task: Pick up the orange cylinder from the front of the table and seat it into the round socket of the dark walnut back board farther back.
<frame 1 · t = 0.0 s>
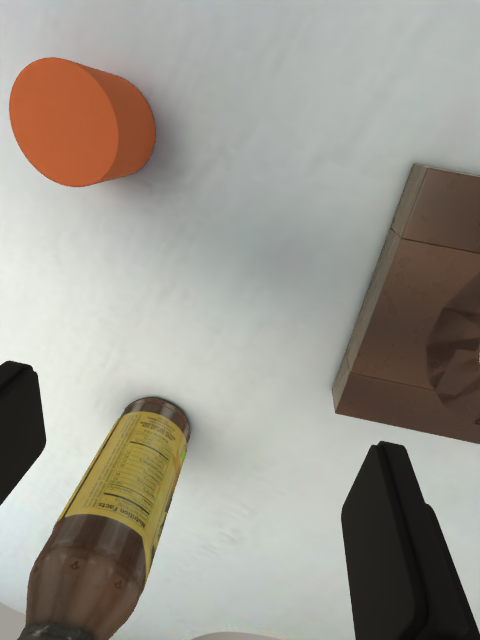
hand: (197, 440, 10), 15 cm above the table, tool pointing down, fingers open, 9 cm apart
sauce bottle: (159, 420, 31), on the table
orange cylinder: (112, 127, 21), on the table
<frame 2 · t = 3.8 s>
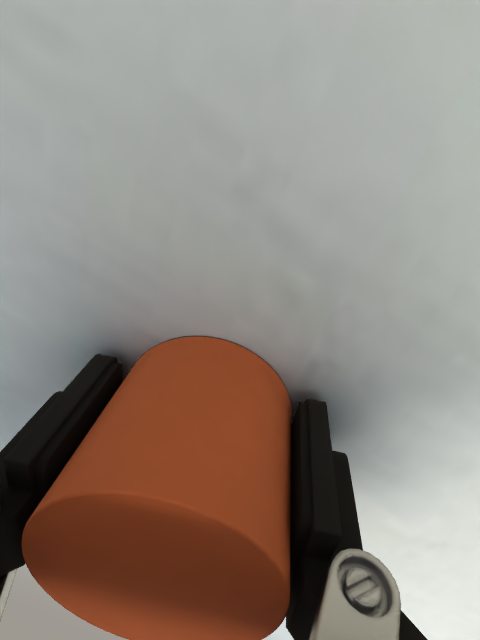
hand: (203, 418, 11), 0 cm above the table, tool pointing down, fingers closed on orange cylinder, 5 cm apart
orange cylinder: (207, 408, 11), on the table, touching gripper
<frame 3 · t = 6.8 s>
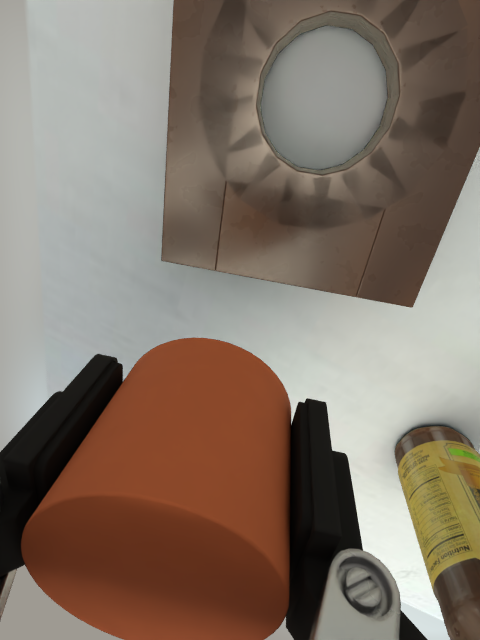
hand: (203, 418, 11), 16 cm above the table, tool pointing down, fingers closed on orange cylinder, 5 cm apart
sauce bottle: (429, 446, 31), on the table
orange cylinder: (206, 409, 11), point 15 cm above the table, touching gripper
back board: (313, 142, 21), on the table
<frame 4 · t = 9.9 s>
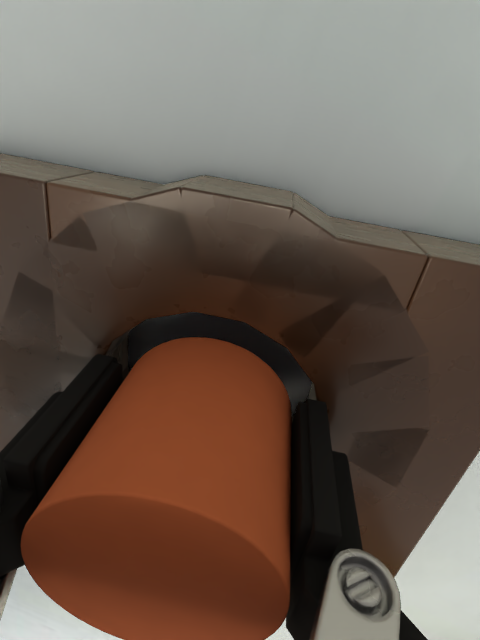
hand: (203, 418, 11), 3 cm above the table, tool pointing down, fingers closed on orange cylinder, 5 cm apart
orange cylinder: (207, 409, 11), point 2 cm above the table, touching gripper
back board: (211, 408, 14), on the table
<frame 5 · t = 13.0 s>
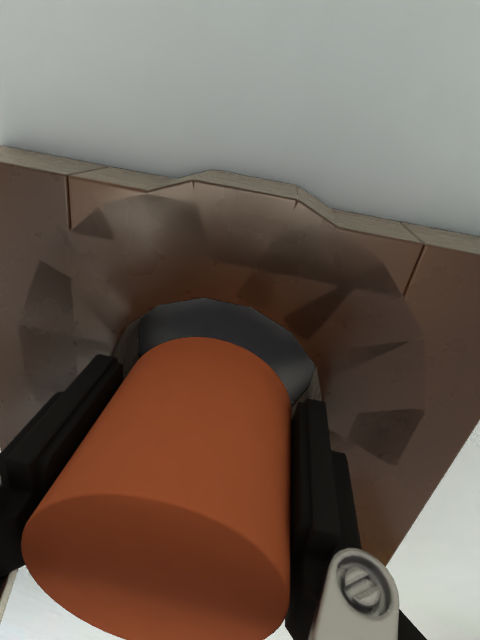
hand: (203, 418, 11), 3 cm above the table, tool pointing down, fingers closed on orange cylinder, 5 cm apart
orange cylinder: (207, 408, 11), point 3 cm above the table, touching gripper
back board: (218, 394, 15), on the table
when the fingers open (3 cm above the table, at t = 15.6 s): orange cylinder drops 3 cm, resting in back board.
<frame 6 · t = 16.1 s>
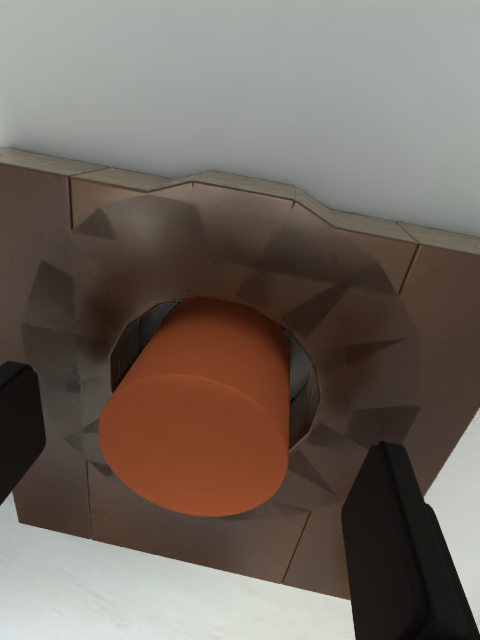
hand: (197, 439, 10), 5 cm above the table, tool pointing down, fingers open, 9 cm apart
orange cylinder: (222, 353, 14), resting in back board
back board: (217, 392, 15), on the table
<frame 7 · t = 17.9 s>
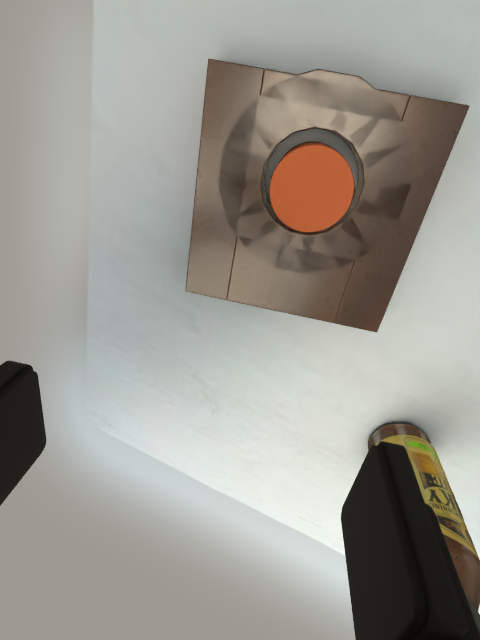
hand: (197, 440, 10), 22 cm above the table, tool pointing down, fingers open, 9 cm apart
sauce bottle: (396, 439, 38), on the table
orange cylinder: (309, 180, 27), resting in back board
back board: (303, 207, 28), on the table
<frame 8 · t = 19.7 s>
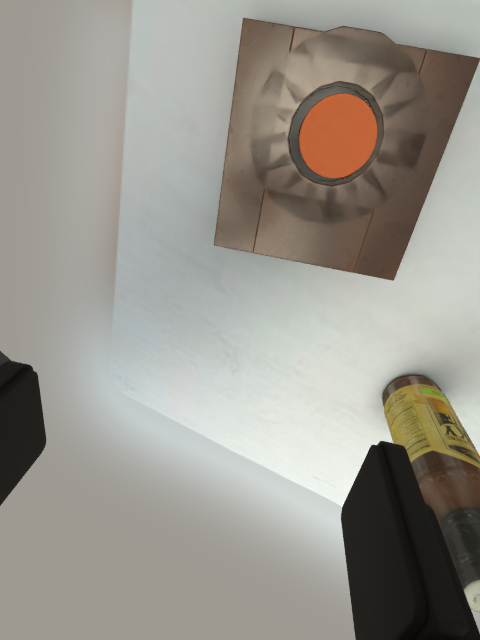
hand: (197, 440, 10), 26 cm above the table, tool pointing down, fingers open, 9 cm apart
sauce bottle: (409, 393, 40), on the table
orange cylinder: (331, 136, 29), resting in back board
back board: (325, 162, 30), on the table
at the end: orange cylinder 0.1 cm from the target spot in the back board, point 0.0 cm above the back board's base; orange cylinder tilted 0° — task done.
